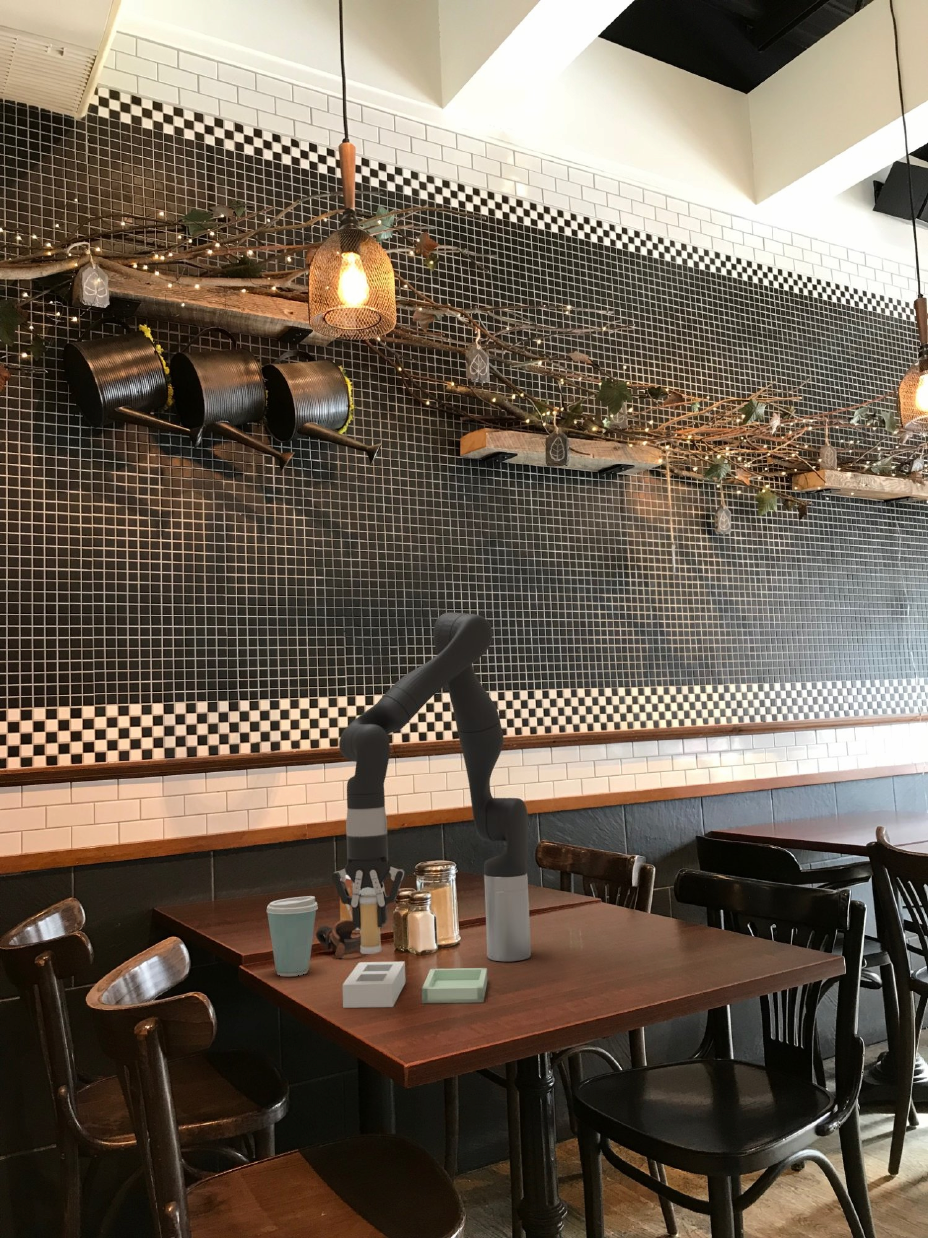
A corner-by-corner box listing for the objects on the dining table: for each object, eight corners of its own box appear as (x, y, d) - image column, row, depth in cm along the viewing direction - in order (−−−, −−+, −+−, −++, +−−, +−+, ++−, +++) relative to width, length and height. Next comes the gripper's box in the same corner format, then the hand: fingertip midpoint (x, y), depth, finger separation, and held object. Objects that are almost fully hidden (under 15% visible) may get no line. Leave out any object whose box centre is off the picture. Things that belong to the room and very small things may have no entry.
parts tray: (431, 982, 190) (430, 969, 191) (487, 981, 190) (487, 968, 190) (422, 1003, 176) (421, 989, 177) (483, 1002, 176) (482, 988, 176)
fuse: (362, 949, 183) (360, 894, 184) (382, 948, 183) (380, 893, 183) (358, 954, 179) (356, 898, 180) (379, 953, 179) (377, 897, 180)
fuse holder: (359, 983, 191) (359, 962, 192) (405, 982, 191) (404, 961, 191) (343, 1008, 176) (342, 984, 176) (392, 1007, 175) (392, 984, 175)
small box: (339, 929, 243) (338, 875, 244) (363, 926, 246) (361, 872, 247) (353, 935, 236) (352, 879, 237) (377, 931, 239) (376, 876, 240)
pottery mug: (370, 950, 222) (374, 921, 219) (357, 979, 213) (361, 949, 210) (319, 936, 223) (323, 907, 220) (305, 965, 215) (308, 935, 212)
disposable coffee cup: (259, 980, 197) (258, 903, 198) (276, 966, 208) (275, 894, 209) (310, 980, 196) (309, 902, 197) (325, 966, 206) (323, 893, 208)
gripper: (407, 828, 186) (410, 921, 184) (333, 830, 187) (336, 923, 186) (401, 833, 178) (405, 930, 177) (325, 836, 180) (327, 932, 178)
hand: (369, 926), depth 181 cm, fingers closed on fuse, 3 cm apart
